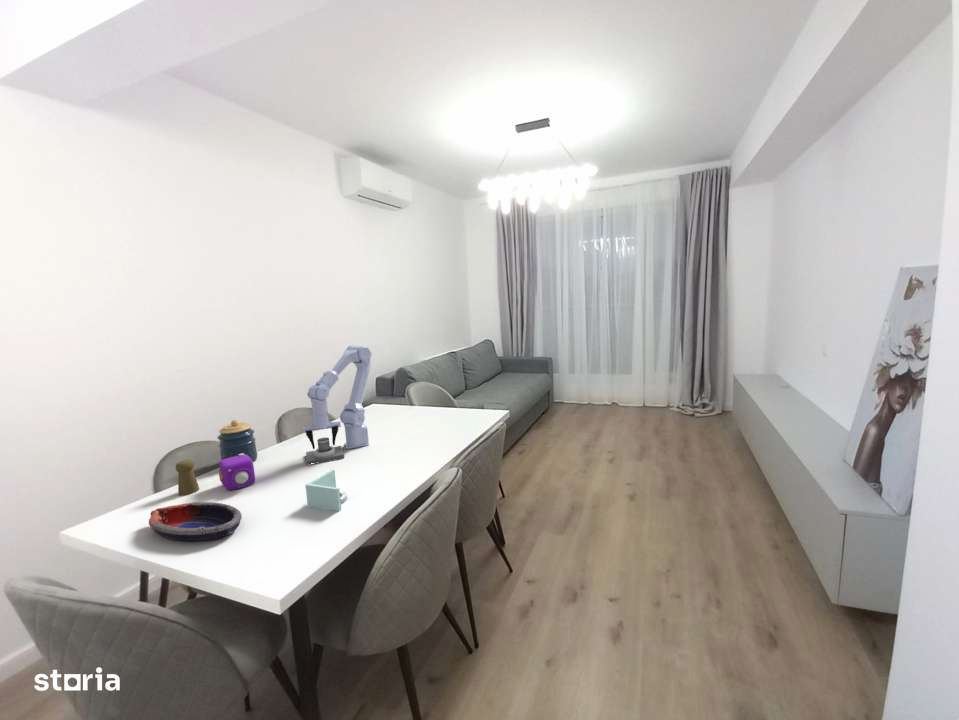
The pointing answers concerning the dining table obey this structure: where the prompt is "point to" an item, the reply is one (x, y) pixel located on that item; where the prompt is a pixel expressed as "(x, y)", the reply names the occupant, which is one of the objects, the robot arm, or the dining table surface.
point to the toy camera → (236, 472)
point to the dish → (195, 521)
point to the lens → (323, 444)
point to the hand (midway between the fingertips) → (323, 446)
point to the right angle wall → (325, 492)
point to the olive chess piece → (186, 478)
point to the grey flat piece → (324, 455)
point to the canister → (237, 440)
